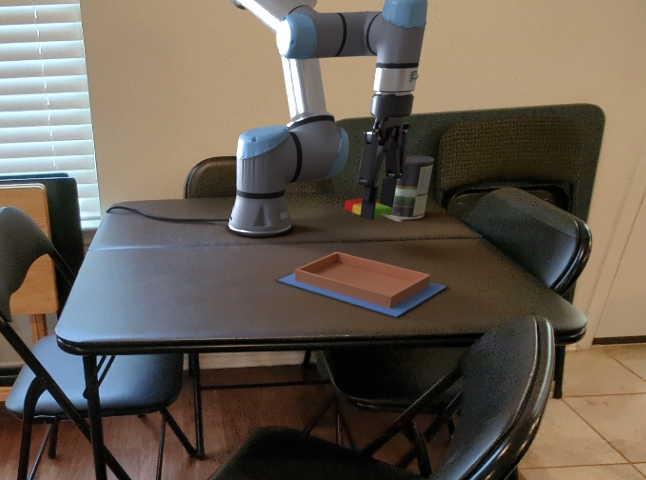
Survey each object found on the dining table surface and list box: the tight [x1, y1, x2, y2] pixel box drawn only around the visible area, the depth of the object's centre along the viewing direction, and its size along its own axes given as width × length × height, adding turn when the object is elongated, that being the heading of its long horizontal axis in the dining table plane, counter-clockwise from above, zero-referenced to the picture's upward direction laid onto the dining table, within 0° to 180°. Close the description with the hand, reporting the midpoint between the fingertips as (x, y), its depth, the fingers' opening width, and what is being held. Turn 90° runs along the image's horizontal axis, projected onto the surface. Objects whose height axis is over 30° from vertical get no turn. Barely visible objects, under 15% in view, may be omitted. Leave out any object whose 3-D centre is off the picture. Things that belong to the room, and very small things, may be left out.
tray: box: [294, 251, 432, 309], centre depth 111 cm, size 20×14×2 cm
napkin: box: [277, 272, 447, 318], centre depth 111 cm, size 25×18×1 cm
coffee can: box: [391, 154, 435, 221], centre depth 149 cm, size 10×10×14 cm
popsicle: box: [344, 198, 403, 223], centre depth 121 cm, size 6×15×2 cm, turn 23°
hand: (376, 214), depth 121 cm, fingers closed on popsicle, 6 cm apart
